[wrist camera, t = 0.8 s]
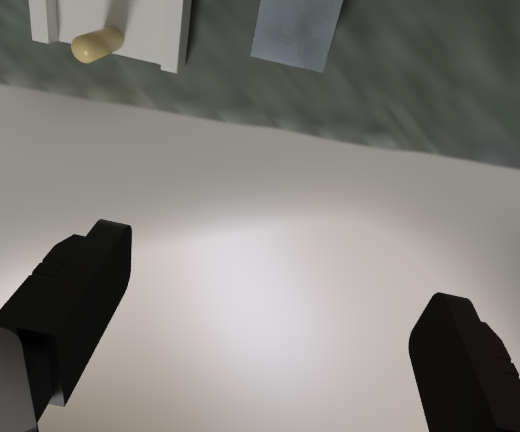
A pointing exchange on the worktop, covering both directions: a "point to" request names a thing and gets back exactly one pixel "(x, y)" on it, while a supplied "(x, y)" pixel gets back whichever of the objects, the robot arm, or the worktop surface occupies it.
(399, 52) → the worktop surface
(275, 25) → the block
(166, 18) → the white peg stand
